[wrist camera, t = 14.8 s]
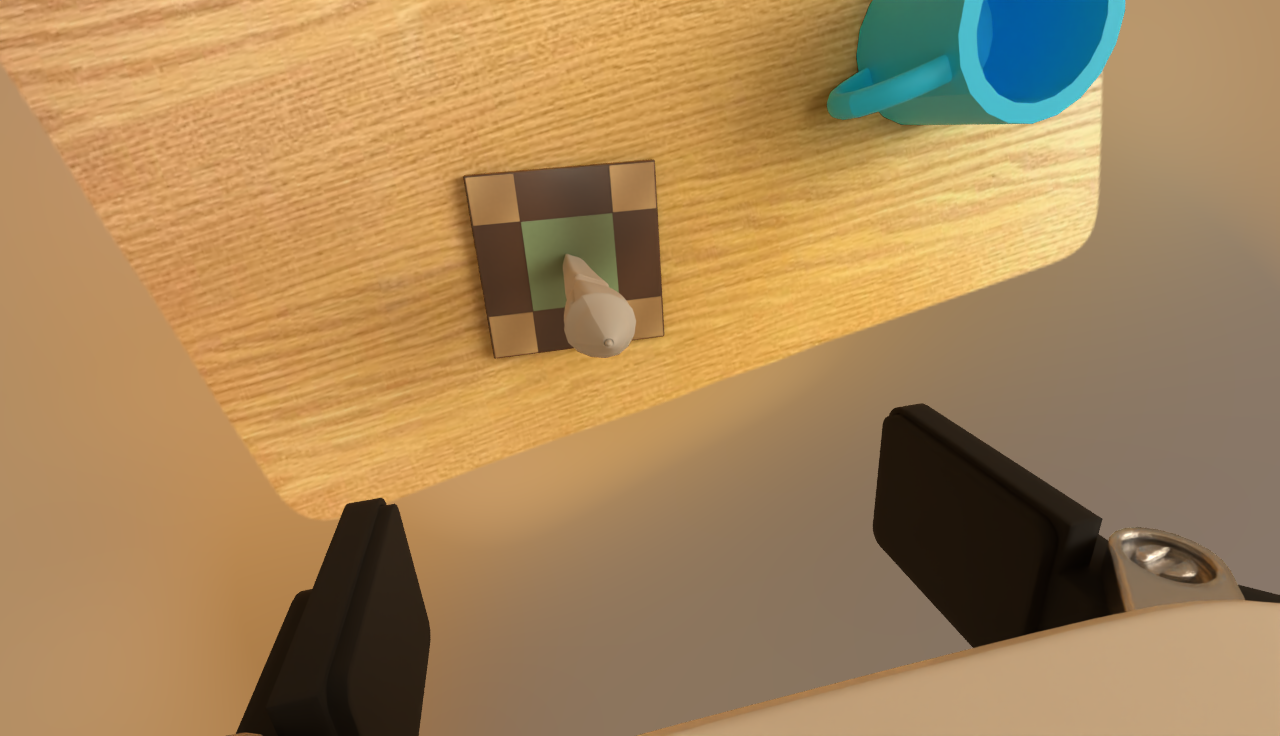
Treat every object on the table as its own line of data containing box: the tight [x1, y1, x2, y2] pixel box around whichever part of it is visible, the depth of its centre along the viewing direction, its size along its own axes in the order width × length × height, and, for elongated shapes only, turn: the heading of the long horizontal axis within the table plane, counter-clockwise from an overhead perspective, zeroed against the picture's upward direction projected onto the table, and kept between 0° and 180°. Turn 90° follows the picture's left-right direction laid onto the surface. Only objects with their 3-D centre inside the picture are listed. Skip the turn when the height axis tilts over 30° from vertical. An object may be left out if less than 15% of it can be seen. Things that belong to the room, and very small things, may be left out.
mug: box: [827, 0, 1125, 125], centre depth 30 cm, size 12×8×8 cm
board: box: [463, 159, 664, 358], centre depth 34 cm, size 10×10×1 cm
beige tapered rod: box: [563, 254, 636, 358], centre depth 27 cm, size 2×3×14 cm
